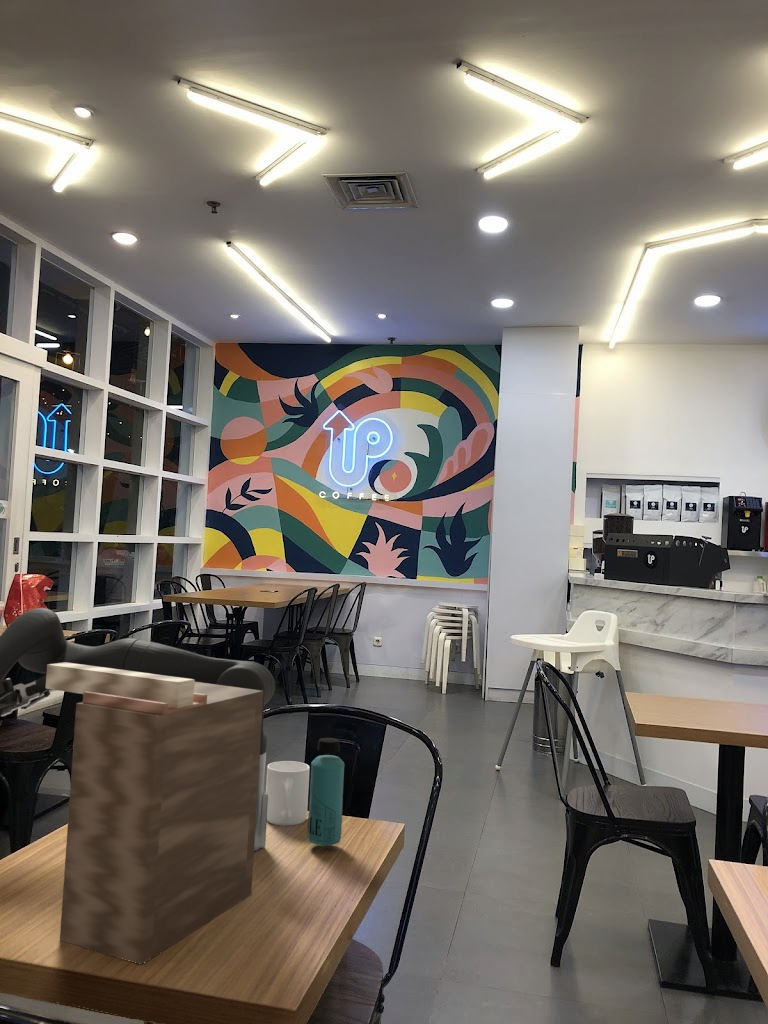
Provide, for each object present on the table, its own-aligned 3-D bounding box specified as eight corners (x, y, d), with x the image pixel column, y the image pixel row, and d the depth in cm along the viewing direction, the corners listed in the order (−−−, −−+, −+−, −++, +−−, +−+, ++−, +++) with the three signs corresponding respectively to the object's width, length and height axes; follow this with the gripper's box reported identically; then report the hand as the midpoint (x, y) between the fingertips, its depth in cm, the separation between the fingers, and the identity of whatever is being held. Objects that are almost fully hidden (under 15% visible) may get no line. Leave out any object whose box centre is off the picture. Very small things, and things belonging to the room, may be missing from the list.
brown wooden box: (59, 939, 114) (77, 693, 116) (179, 876, 138) (192, 672, 139) (141, 965, 108) (158, 705, 110) (251, 894, 132) (263, 681, 134)
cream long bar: (45, 688, 124) (47, 664, 124) (63, 685, 127) (65, 662, 127) (177, 708, 114) (178, 682, 114) (193, 704, 117) (194, 679, 117)
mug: (263, 832, 162) (266, 775, 162) (264, 812, 174) (267, 760, 174) (307, 832, 163) (310, 776, 163) (306, 813, 175) (309, 761, 175)
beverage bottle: (346, 845, 157) (352, 737, 158) (332, 856, 150) (338, 744, 151) (314, 839, 159) (320, 733, 160) (299, 850, 153) (306, 740, 154)
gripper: (-84, 706, 127) (-13, 662, 121) (-6, 694, 140) (61, 654, 134) (-71, 753, 125) (2, 711, 119) (7, 736, 138) (76, 697, 132)
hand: (33, 680), depth 127 cm, fingers open, 8 cm apart
